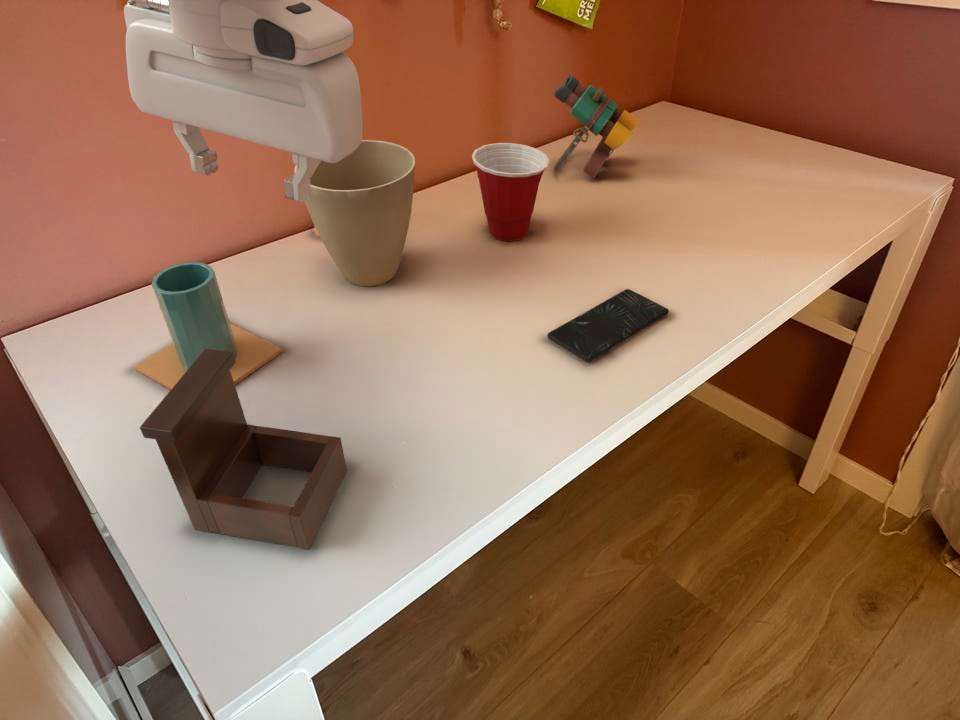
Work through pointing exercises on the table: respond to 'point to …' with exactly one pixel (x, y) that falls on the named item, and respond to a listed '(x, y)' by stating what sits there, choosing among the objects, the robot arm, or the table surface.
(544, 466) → the table surface
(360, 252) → the plant pot
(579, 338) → the smartphone
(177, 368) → the mat
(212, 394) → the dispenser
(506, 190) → the plastic cup
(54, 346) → the table surface
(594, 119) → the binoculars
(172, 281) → the cup
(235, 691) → the table surface
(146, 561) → the table surface
